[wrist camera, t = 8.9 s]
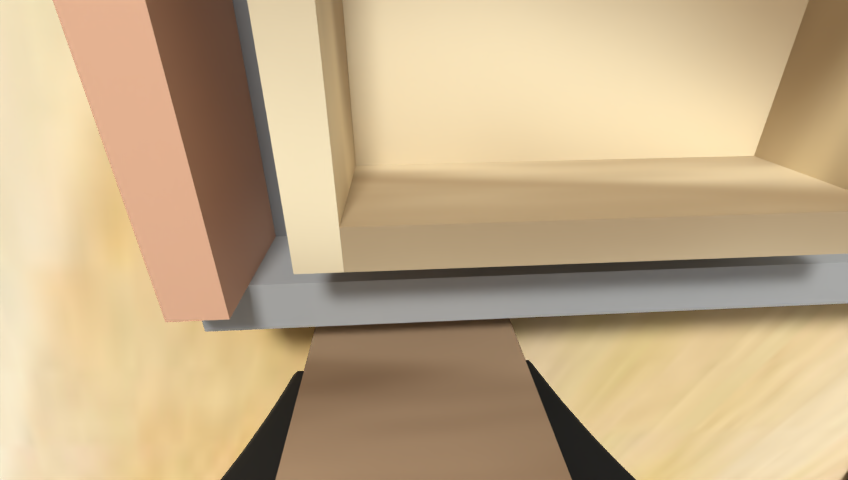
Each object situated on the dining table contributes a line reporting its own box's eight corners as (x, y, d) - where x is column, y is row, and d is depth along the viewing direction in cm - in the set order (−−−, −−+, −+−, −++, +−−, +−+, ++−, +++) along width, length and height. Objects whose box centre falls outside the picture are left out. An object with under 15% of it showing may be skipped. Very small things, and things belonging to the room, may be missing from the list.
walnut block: (485, 403, 13) (544, 652, 8) (341, 410, 13) (305, 672, 8) (495, 282, 11) (583, 509, 6) (325, 288, 11) (261, 531, 6)
